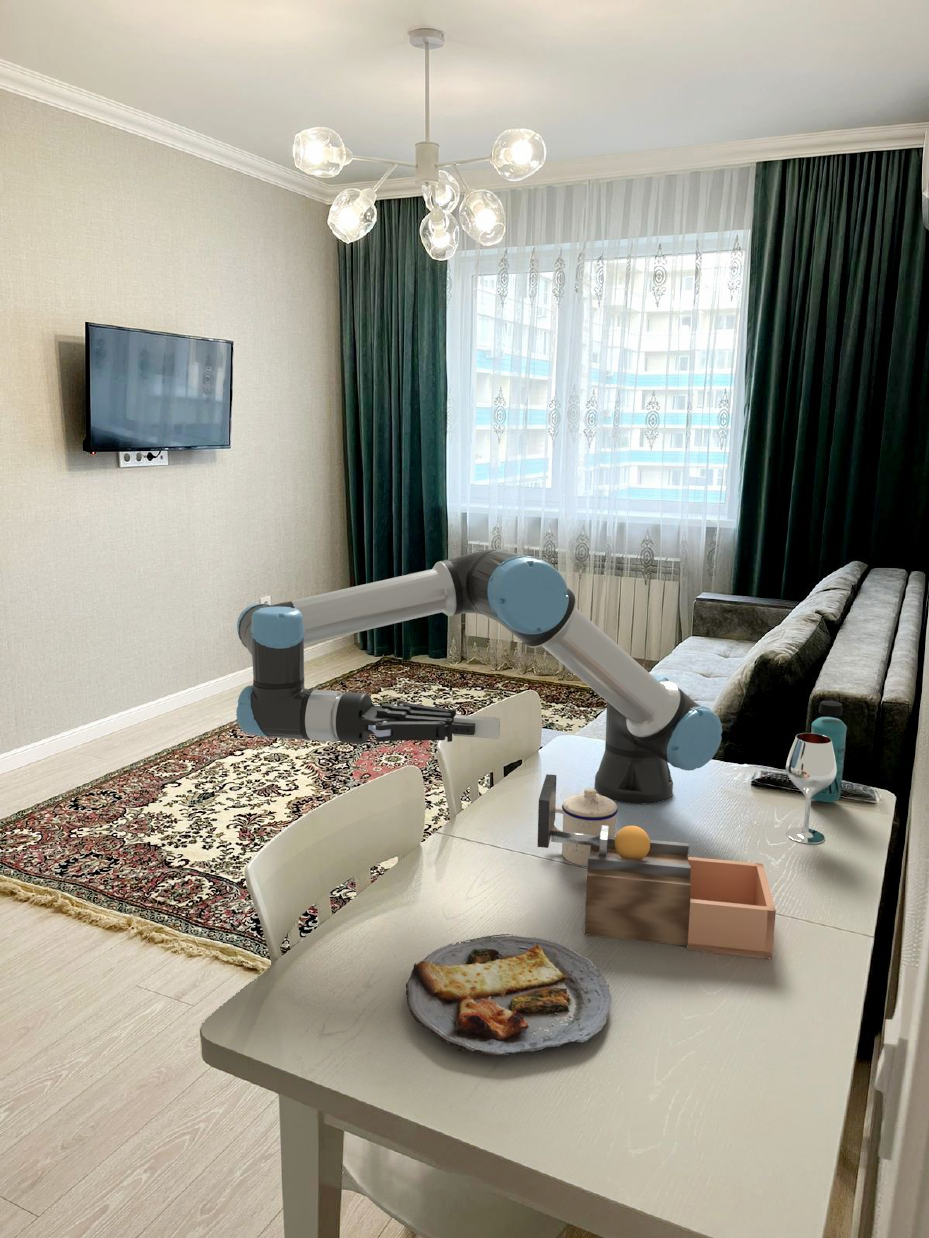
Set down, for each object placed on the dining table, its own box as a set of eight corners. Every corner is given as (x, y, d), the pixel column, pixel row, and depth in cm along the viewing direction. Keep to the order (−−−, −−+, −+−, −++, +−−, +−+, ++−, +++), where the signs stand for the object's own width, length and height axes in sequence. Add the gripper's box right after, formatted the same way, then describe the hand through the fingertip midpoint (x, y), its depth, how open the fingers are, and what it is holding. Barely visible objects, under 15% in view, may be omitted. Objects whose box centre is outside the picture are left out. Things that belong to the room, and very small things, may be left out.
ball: (606, 856, 132) (608, 824, 131) (634, 849, 134) (635, 817, 133) (628, 870, 127) (630, 837, 126) (656, 863, 130) (658, 830, 129)
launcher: (584, 934, 128) (587, 864, 126) (589, 893, 139) (592, 828, 137) (687, 945, 125) (691, 874, 123) (683, 902, 137) (687, 837, 135)
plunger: (537, 862, 128) (538, 799, 126) (544, 833, 138) (546, 774, 136) (605, 869, 127) (608, 805, 125) (608, 838, 136) (610, 779, 134)
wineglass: (837, 847, 156) (847, 746, 153) (789, 846, 156) (797, 745, 153) (820, 826, 164) (828, 731, 161) (774, 826, 164) (782, 730, 161)
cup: (687, 949, 124) (690, 902, 123) (683, 899, 138) (686, 856, 136) (771, 958, 122) (775, 910, 121) (759, 907, 136) (762, 863, 134)
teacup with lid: (623, 850, 154) (625, 785, 152) (604, 872, 146) (607, 804, 144) (556, 836, 160) (558, 772, 157) (535, 856, 152) (537, 790, 149)
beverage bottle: (801, 805, 174) (810, 704, 170) (806, 793, 179) (815, 695, 175) (838, 812, 171) (848, 709, 167) (842, 800, 176) (851, 700, 173)
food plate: (429, 1081, 98) (430, 1051, 98) (388, 965, 120) (389, 940, 120) (641, 1047, 105) (643, 1019, 105) (565, 943, 127) (566, 920, 127)
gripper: (355, 727, 142) (505, 739, 138) (327, 755, 130) (491, 769, 125) (354, 681, 141) (506, 691, 136) (326, 704, 128) (492, 716, 124)
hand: (499, 728), depth 131 cm, fingers closed
